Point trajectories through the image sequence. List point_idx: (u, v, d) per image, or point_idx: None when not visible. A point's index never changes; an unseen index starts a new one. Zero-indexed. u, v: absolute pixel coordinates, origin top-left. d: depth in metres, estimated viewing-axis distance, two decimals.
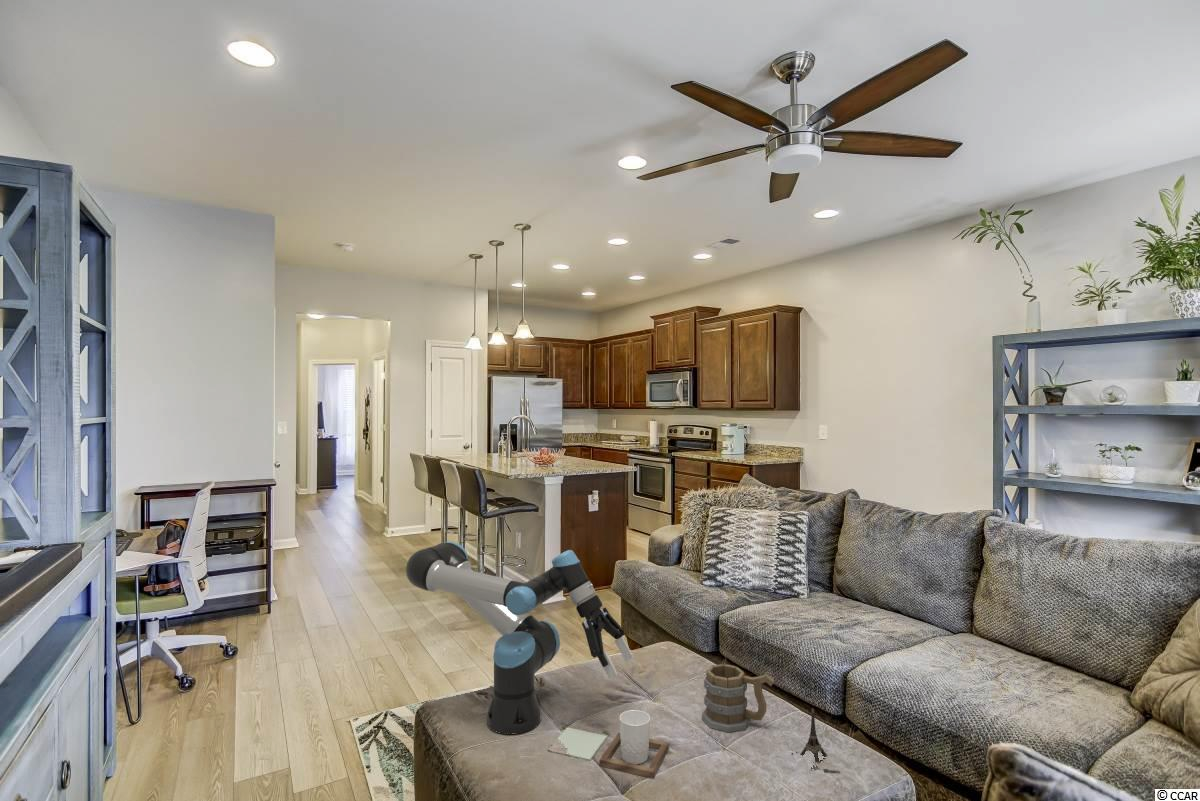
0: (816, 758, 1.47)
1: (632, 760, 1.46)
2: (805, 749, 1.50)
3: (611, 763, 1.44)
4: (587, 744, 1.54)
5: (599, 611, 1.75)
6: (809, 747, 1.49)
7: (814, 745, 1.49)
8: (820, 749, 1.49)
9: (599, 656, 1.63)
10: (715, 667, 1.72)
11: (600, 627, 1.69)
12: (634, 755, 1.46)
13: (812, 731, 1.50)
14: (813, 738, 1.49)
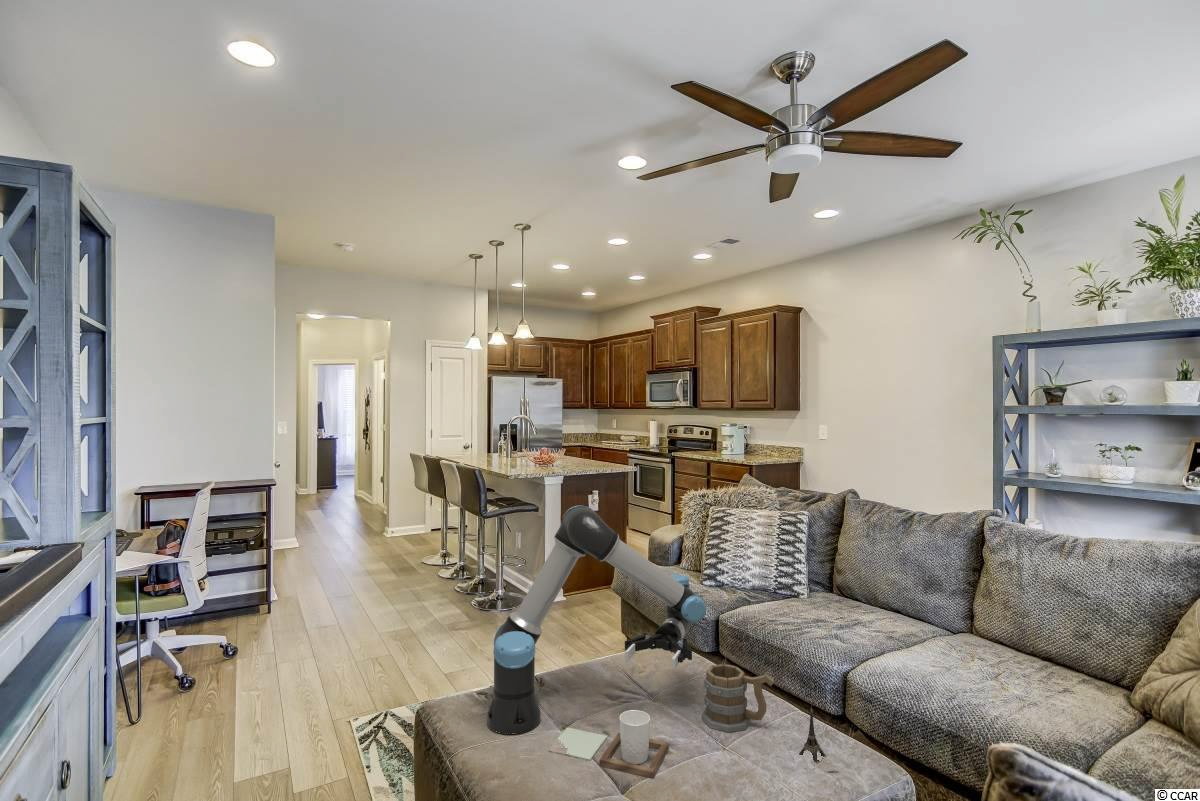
0: (814, 758, 1.47)
1: (632, 760, 1.46)
2: (804, 749, 1.50)
3: (611, 763, 1.44)
4: (587, 744, 1.54)
5: None
6: (808, 747, 1.49)
7: (813, 745, 1.49)
8: (819, 749, 1.49)
9: (684, 655, 1.64)
10: (715, 667, 1.72)
11: None
12: (634, 755, 1.46)
13: (811, 731, 1.50)
14: (812, 738, 1.49)
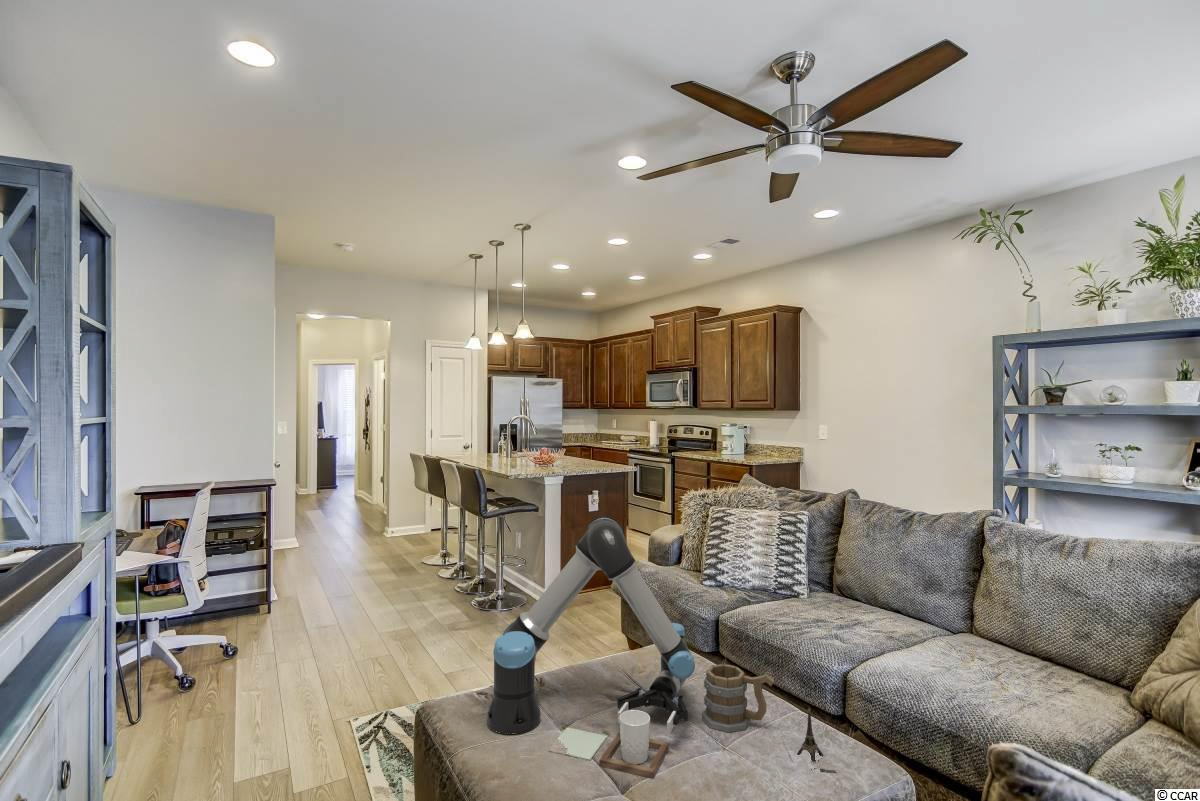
0: (812, 758, 1.47)
1: (632, 760, 1.46)
2: (802, 749, 1.50)
3: (611, 763, 1.44)
4: (587, 744, 1.54)
5: None
6: (805, 747, 1.49)
7: (810, 745, 1.49)
8: (816, 749, 1.49)
9: (680, 717, 1.57)
10: (715, 667, 1.72)
11: None
12: (634, 755, 1.46)
13: (809, 731, 1.50)
14: (809, 738, 1.49)
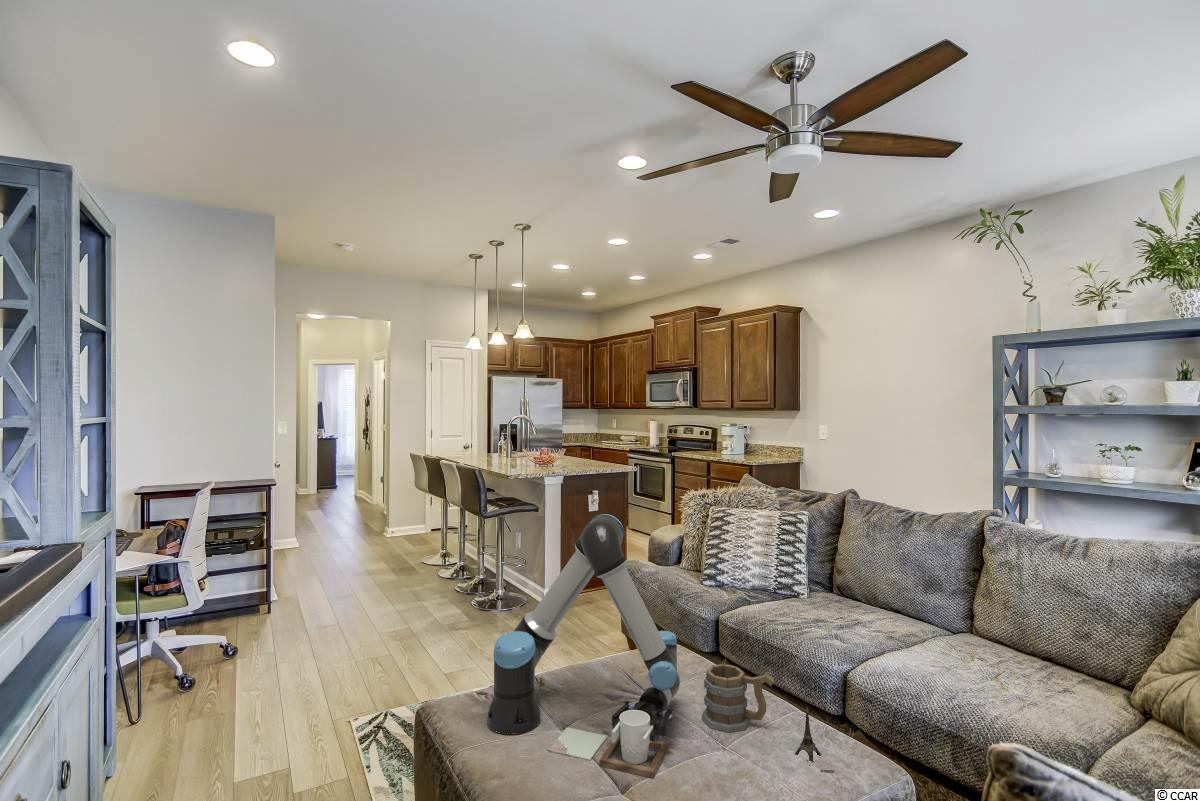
0: (810, 757, 1.47)
1: (632, 760, 1.46)
2: (799, 748, 1.50)
3: (611, 763, 1.44)
4: (587, 744, 1.54)
5: None
6: (803, 746, 1.50)
7: (808, 744, 1.49)
8: (814, 748, 1.50)
9: (657, 732, 1.49)
10: (715, 667, 1.72)
11: None
12: (634, 755, 1.46)
13: (806, 730, 1.50)
14: (807, 737, 1.50)
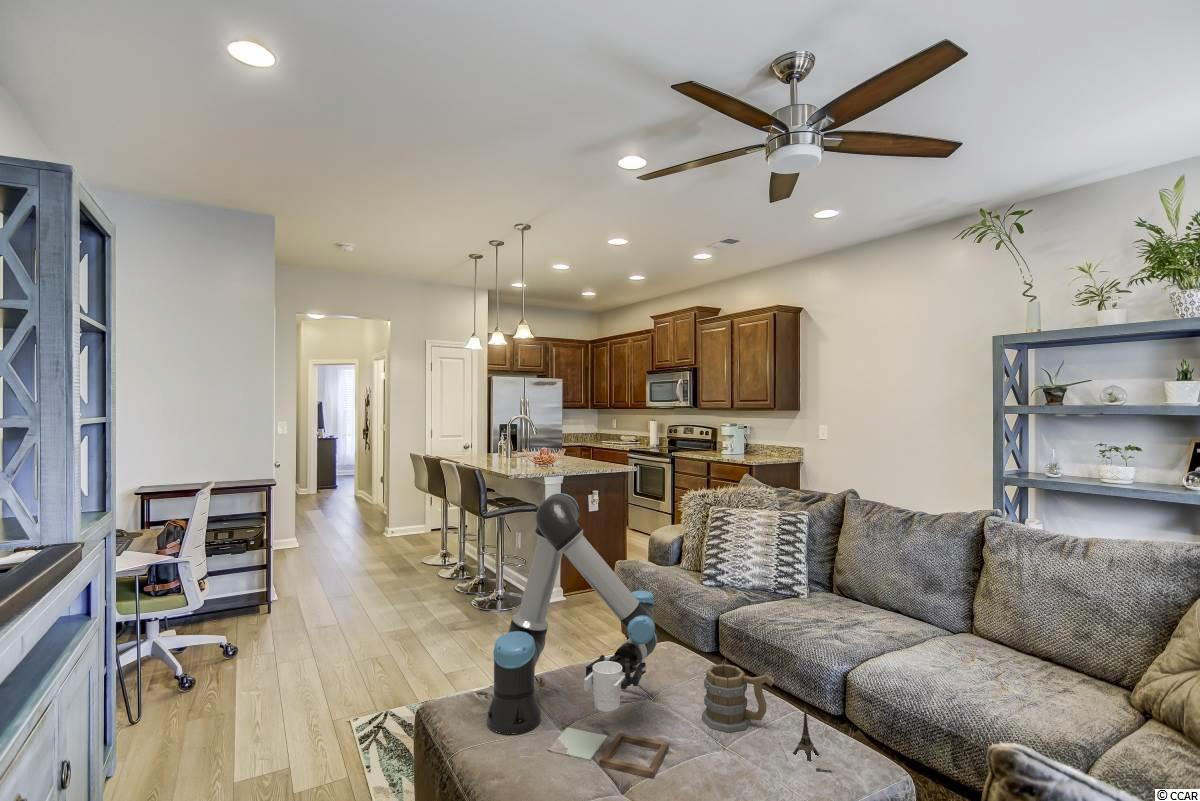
0: (808, 757, 1.47)
1: (603, 708, 1.50)
2: (797, 748, 1.50)
3: (611, 763, 1.44)
4: (587, 744, 1.54)
5: None
6: (801, 746, 1.50)
7: (806, 744, 1.49)
8: (812, 748, 1.50)
9: (629, 681, 1.52)
10: (715, 667, 1.72)
11: None
12: (605, 702, 1.50)
13: (804, 730, 1.50)
14: (805, 737, 1.50)
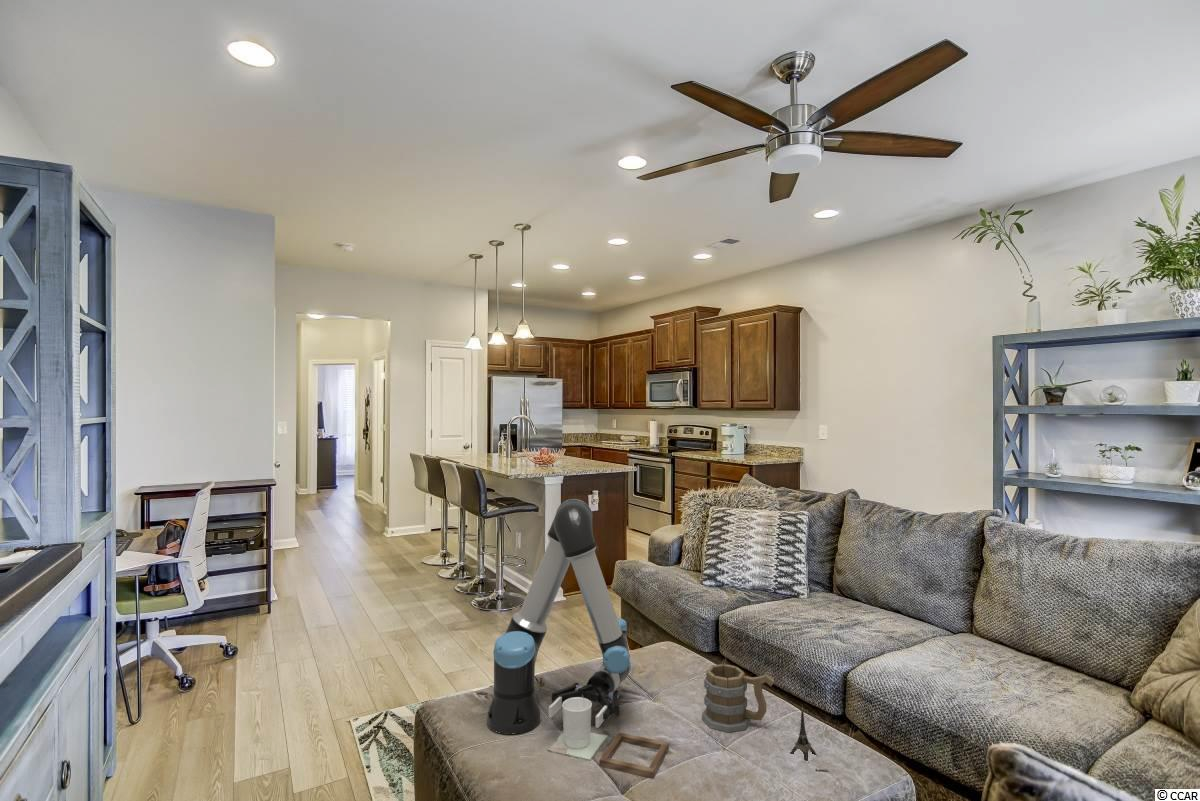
0: (805, 757, 1.48)
1: (573, 745, 1.52)
2: (795, 748, 1.50)
3: (611, 763, 1.44)
4: None
5: None
6: (799, 746, 1.50)
7: (804, 744, 1.49)
8: (810, 748, 1.50)
9: (611, 711, 1.55)
10: (715, 667, 1.72)
11: None
12: (575, 740, 1.52)
13: (802, 730, 1.50)
14: (803, 737, 1.50)
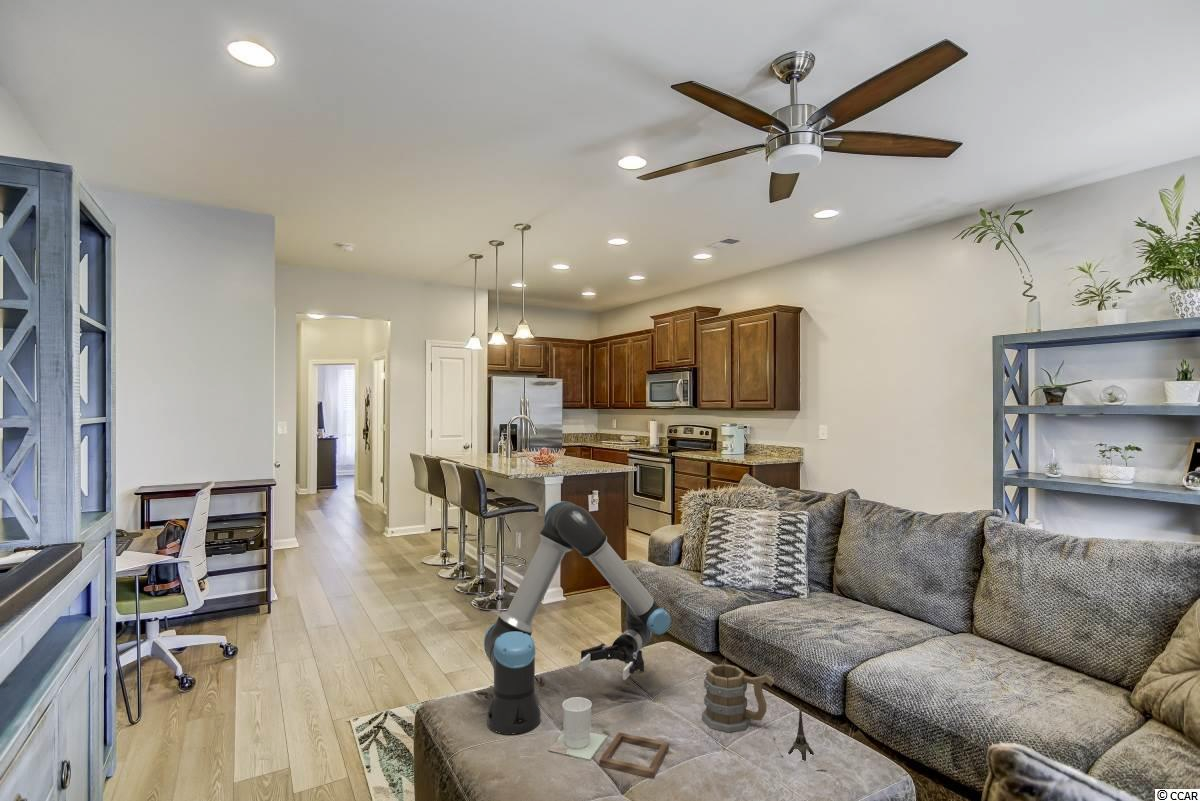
0: (803, 757, 1.48)
1: (573, 745, 1.52)
2: (793, 748, 1.50)
3: (611, 763, 1.44)
4: None
5: None
6: (797, 746, 1.50)
7: (802, 744, 1.49)
8: (808, 748, 1.50)
9: (636, 667, 1.70)
10: (715, 667, 1.72)
11: None
12: (575, 740, 1.52)
13: (800, 730, 1.50)
14: (801, 737, 1.50)
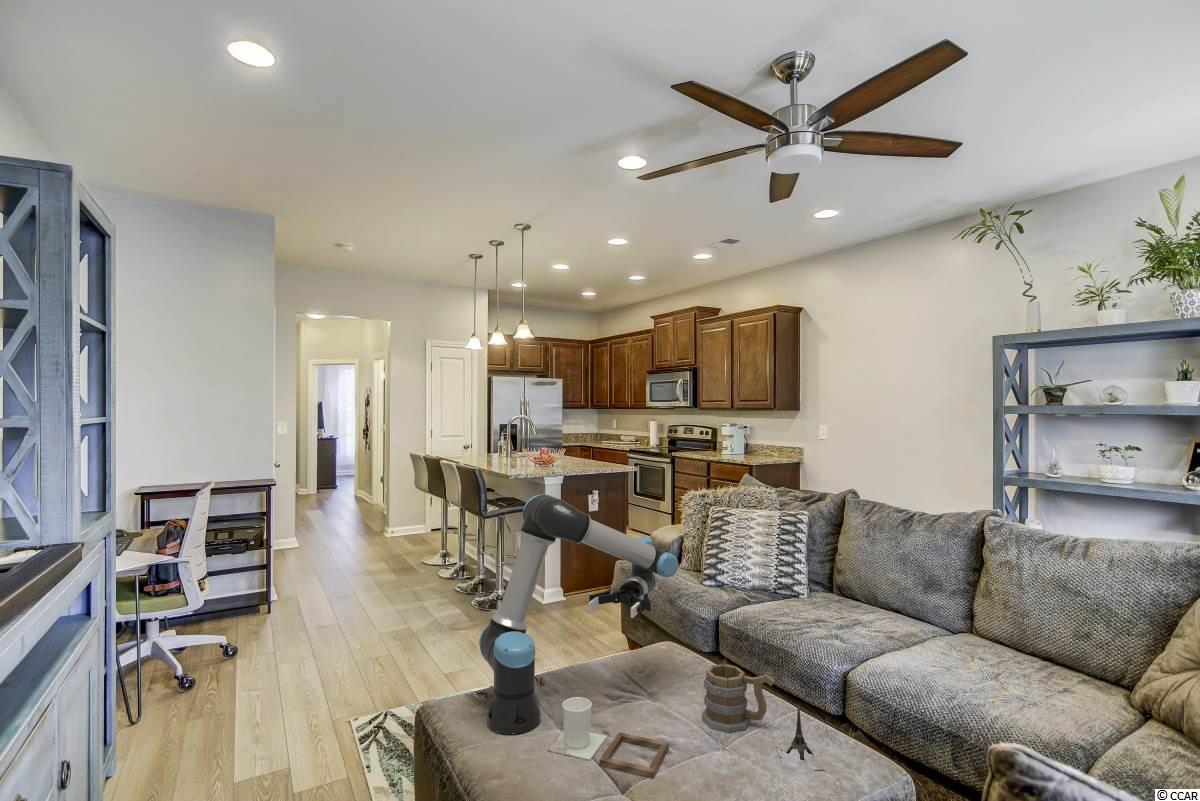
0: (801, 756, 1.48)
1: (573, 745, 1.52)
2: (791, 747, 1.50)
3: (611, 763, 1.44)
4: None
5: None
6: (795, 745, 1.50)
7: (800, 743, 1.49)
8: (806, 747, 1.50)
9: (643, 607, 1.76)
10: (715, 667, 1.72)
11: None
12: (575, 740, 1.52)
13: (798, 730, 1.50)
14: (799, 737, 1.50)
